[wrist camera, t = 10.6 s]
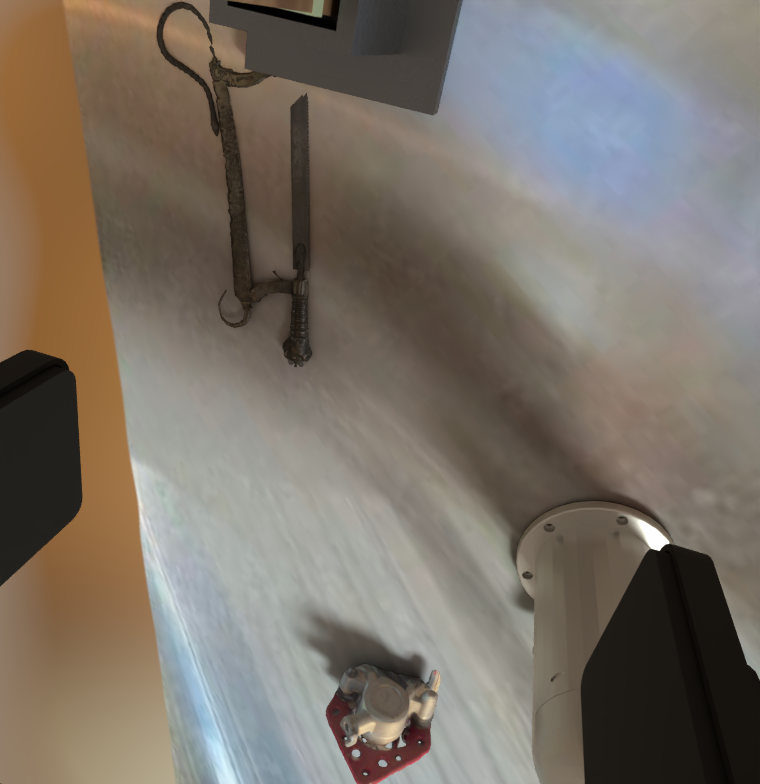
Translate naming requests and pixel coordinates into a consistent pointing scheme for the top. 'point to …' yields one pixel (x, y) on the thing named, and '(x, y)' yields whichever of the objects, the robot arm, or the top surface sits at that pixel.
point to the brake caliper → (382, 719)
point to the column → (301, 6)
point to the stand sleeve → (353, 47)
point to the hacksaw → (298, 338)
